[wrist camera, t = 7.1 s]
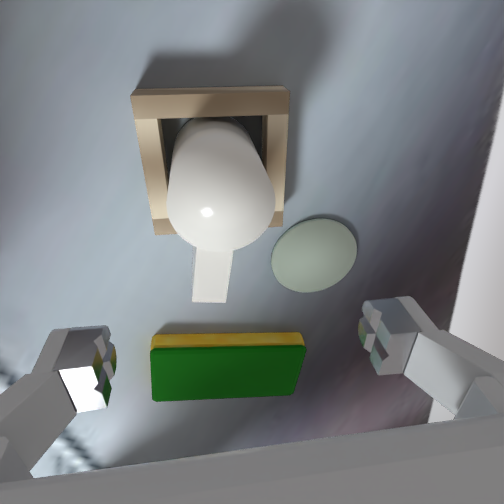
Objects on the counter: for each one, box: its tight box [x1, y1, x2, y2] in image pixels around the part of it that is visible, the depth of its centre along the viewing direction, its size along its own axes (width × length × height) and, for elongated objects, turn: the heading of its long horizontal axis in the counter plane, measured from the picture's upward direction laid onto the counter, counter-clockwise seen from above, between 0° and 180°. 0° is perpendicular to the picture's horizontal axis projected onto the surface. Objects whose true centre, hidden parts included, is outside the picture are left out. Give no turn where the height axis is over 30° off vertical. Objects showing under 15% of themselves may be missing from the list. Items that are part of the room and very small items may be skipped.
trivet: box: [271, 218, 357, 293], centre depth 29 cm, size 7×7×1 cm
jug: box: [166, 116, 275, 303], centre depth 21 cm, size 9×5×8 cm, turn 171°
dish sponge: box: [150, 332, 306, 402], centre depth 34 cm, size 7×14×2 cm, turn 83°
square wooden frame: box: [130, 86, 290, 235], centre depth 22 cm, size 9×9×2 cm
